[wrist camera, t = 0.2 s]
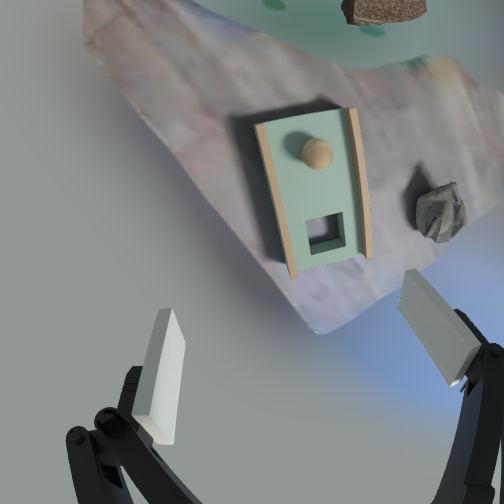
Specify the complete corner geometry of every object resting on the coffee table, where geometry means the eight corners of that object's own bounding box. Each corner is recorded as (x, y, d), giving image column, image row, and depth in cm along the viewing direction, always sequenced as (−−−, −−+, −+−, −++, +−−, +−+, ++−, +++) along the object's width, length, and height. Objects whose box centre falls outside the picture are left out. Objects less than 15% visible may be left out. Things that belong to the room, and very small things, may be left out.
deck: (252, 124, 35) (255, 125, 31) (343, 107, 35) (356, 107, 31) (285, 264, 45) (291, 279, 41) (361, 244, 45) (372, 257, 41)
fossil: (407, 179, 40) (436, 194, 33) (446, 170, 39) (476, 183, 32) (411, 239, 45) (435, 260, 38) (447, 226, 44) (472, 244, 37)
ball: (295, 139, 34) (302, 143, 30) (324, 134, 33) (335, 137, 30) (301, 169, 36) (309, 175, 32) (329, 163, 35) (340, 169, 32)
